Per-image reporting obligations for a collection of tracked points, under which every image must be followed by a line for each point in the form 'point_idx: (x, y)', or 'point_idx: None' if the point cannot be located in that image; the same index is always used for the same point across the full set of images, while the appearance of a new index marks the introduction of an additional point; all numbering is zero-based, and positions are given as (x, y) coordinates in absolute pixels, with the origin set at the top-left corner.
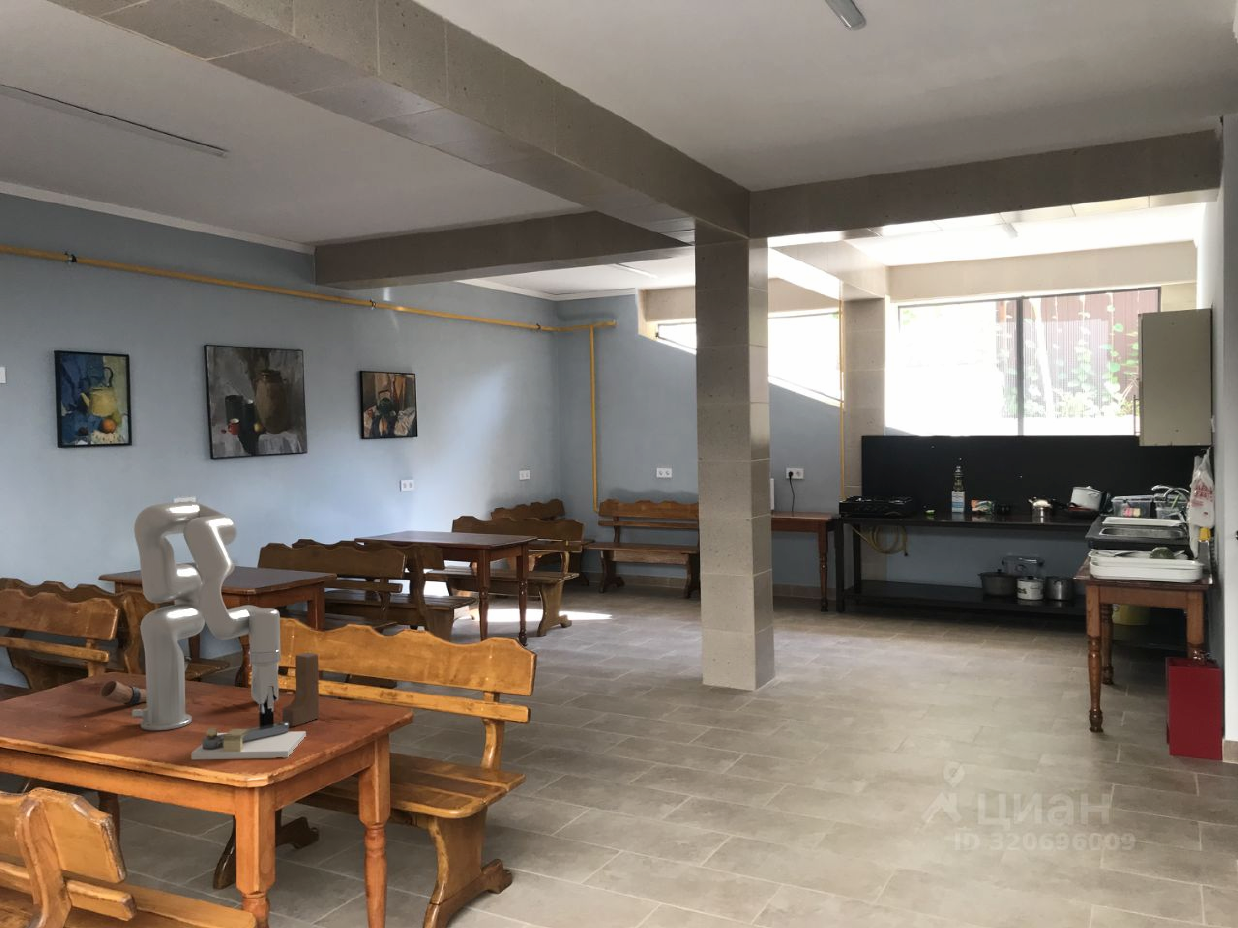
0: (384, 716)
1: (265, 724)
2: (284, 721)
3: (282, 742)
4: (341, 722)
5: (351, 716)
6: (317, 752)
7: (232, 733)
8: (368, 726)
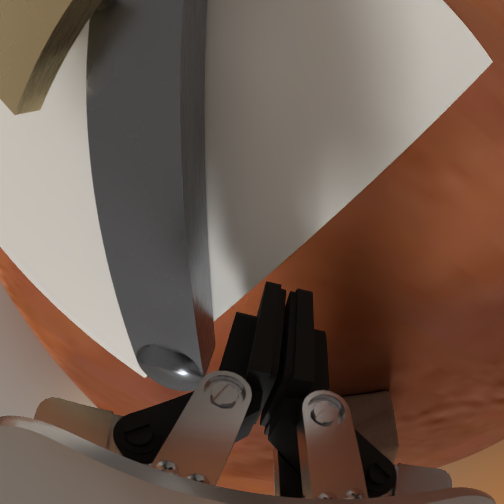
0: (219, 479)
1: (236, 314)
2: (376, 402)
3: (41, 248)
4: (242, 453)
5: (273, 471)
6: (7, 285)
7: (5, 3)
8: None
